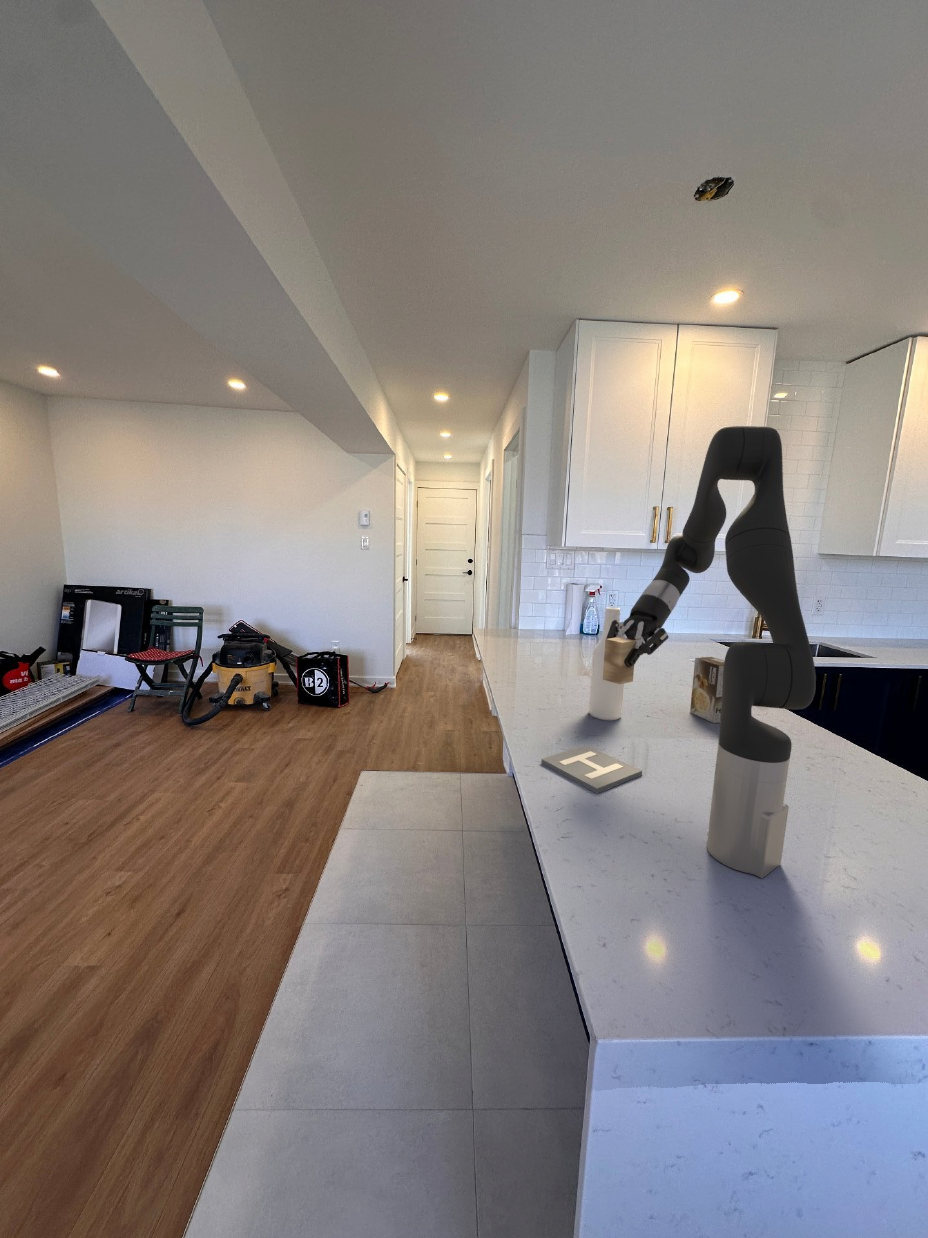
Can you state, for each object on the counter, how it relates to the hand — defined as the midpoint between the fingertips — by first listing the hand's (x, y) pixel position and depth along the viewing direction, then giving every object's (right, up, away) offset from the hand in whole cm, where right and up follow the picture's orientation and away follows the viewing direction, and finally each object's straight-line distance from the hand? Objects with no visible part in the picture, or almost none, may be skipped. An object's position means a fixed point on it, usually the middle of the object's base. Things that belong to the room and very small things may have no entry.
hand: (617, 662), depth 106 cm
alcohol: (+6, -18, +30) cm, 35 cm away
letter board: (-6, -22, -3) cm, 23 cm away
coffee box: (+35, -18, +31) cm, 50 cm away
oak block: (0, -4, +1) cm, 4 cm away
